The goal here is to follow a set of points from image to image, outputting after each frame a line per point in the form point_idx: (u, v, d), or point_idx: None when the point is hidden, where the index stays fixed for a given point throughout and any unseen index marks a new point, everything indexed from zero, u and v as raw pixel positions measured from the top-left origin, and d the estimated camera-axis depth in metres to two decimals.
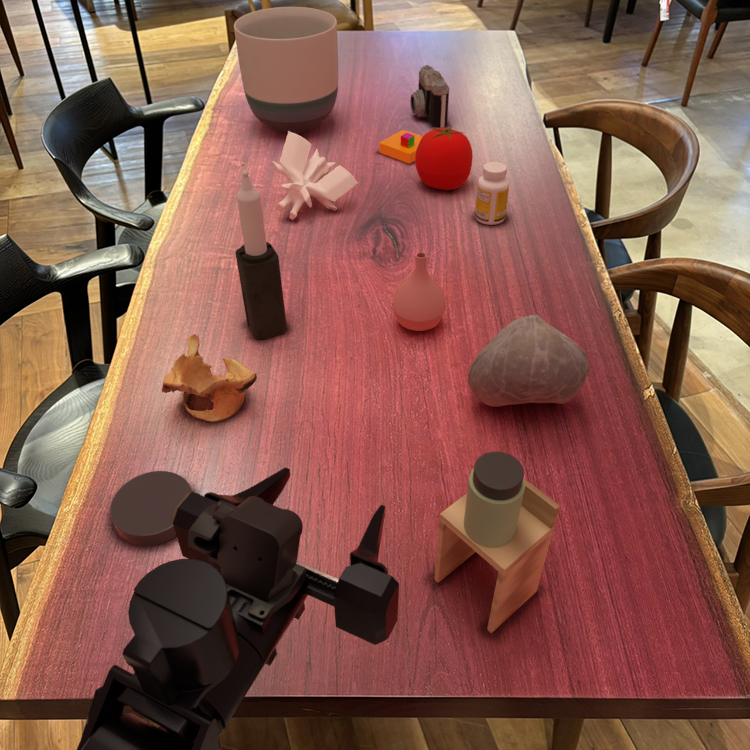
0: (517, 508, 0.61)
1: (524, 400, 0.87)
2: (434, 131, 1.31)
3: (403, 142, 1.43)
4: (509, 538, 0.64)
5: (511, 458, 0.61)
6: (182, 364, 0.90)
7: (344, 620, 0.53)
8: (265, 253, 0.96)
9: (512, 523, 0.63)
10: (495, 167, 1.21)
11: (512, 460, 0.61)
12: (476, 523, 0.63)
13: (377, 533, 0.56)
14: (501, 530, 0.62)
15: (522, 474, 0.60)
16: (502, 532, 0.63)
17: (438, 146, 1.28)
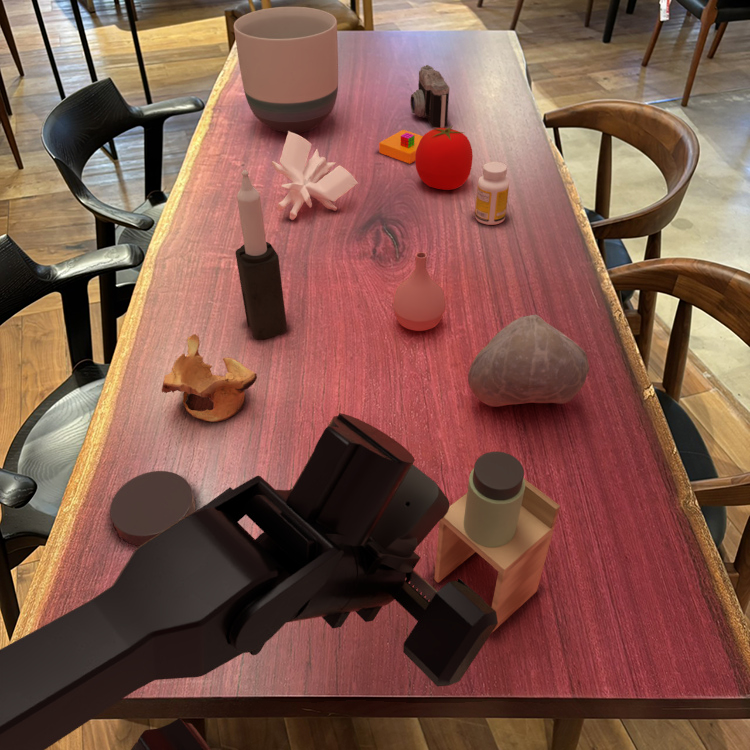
0: (517, 508, 0.61)
1: (524, 400, 0.87)
2: (434, 131, 1.31)
3: (403, 142, 1.43)
4: (509, 538, 0.64)
5: (511, 458, 0.61)
6: (182, 364, 0.90)
7: (422, 633, 0.49)
8: (265, 253, 0.96)
9: (512, 523, 0.63)
10: (495, 167, 1.21)
11: (512, 460, 0.61)
12: (476, 523, 0.63)
13: None
14: (501, 530, 0.62)
15: (522, 474, 0.60)
16: (502, 532, 0.63)
17: (438, 146, 1.28)
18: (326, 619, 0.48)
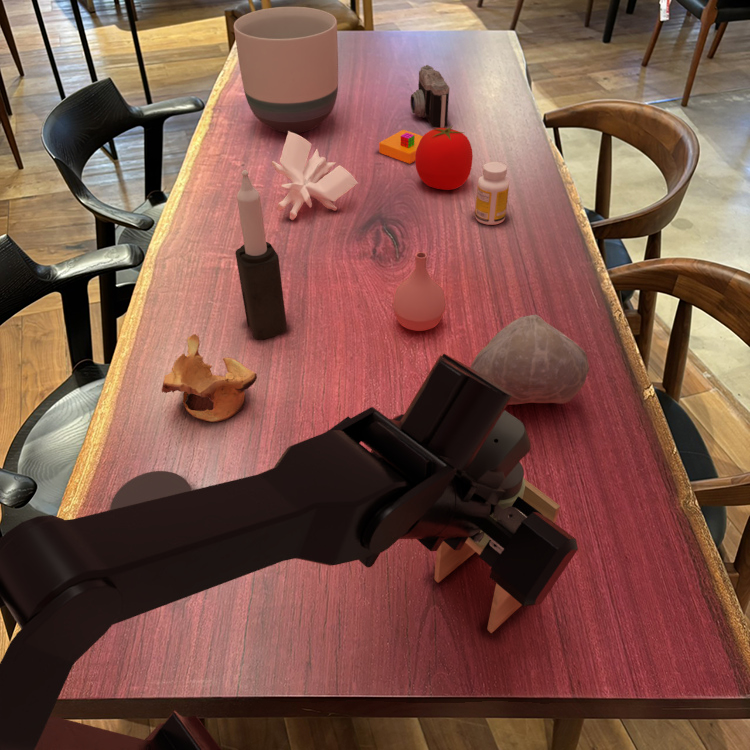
0: None
1: (524, 400, 0.87)
2: (434, 131, 1.31)
3: (403, 142, 1.43)
4: None
5: None
6: (182, 364, 0.90)
7: (509, 558, 0.54)
8: (265, 253, 0.96)
9: None
10: (495, 167, 1.21)
11: None
12: None
13: None
14: None
15: (522, 474, 0.60)
16: None
17: (438, 146, 1.28)
18: (424, 543, 0.53)
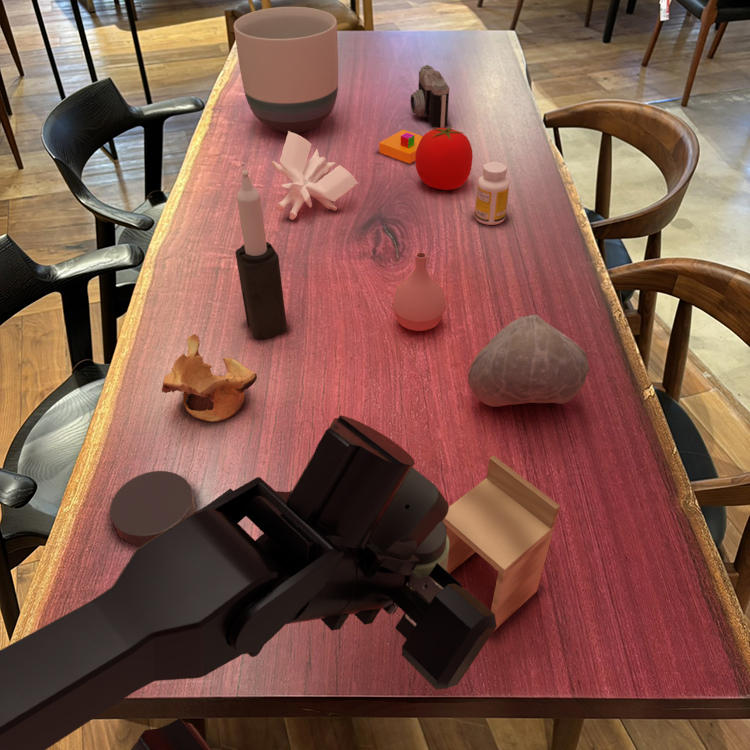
0: None
1: (524, 400, 0.87)
2: (434, 131, 1.31)
3: (403, 142, 1.43)
4: None
5: None
6: (182, 364, 0.90)
7: (421, 636, 0.49)
8: (265, 253, 0.96)
9: None
10: (495, 167, 1.21)
11: None
12: None
13: None
14: None
15: (444, 536, 0.55)
16: None
17: (438, 146, 1.28)
18: (325, 621, 0.48)
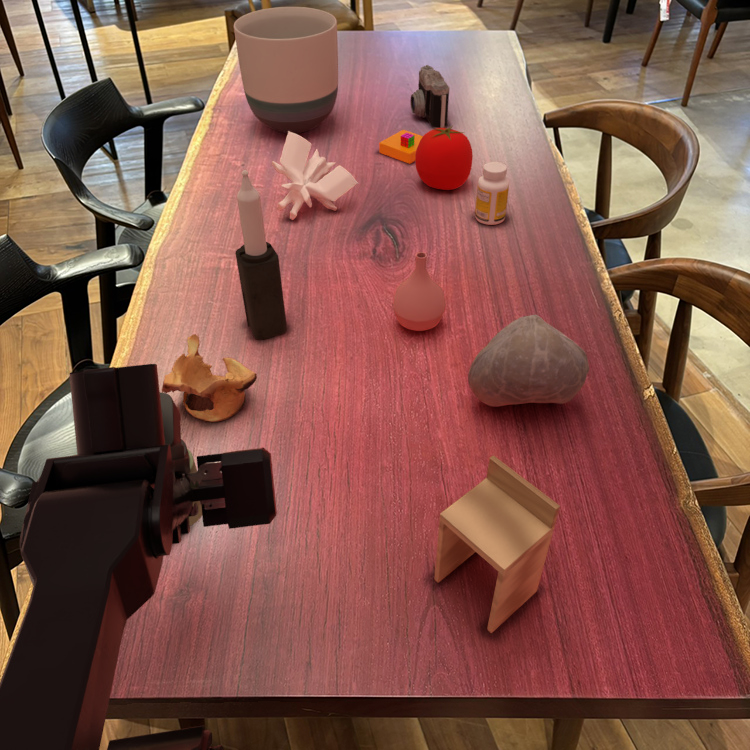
0: (196, 471, 0.64)
1: (524, 400, 0.87)
2: (434, 131, 1.31)
3: (403, 142, 1.43)
4: None
5: None
6: (182, 364, 0.90)
7: (234, 499, 0.58)
8: (265, 253, 0.96)
9: None
10: (495, 167, 1.21)
11: None
12: None
13: None
14: None
15: (182, 441, 0.63)
16: None
17: (438, 146, 1.28)
18: None
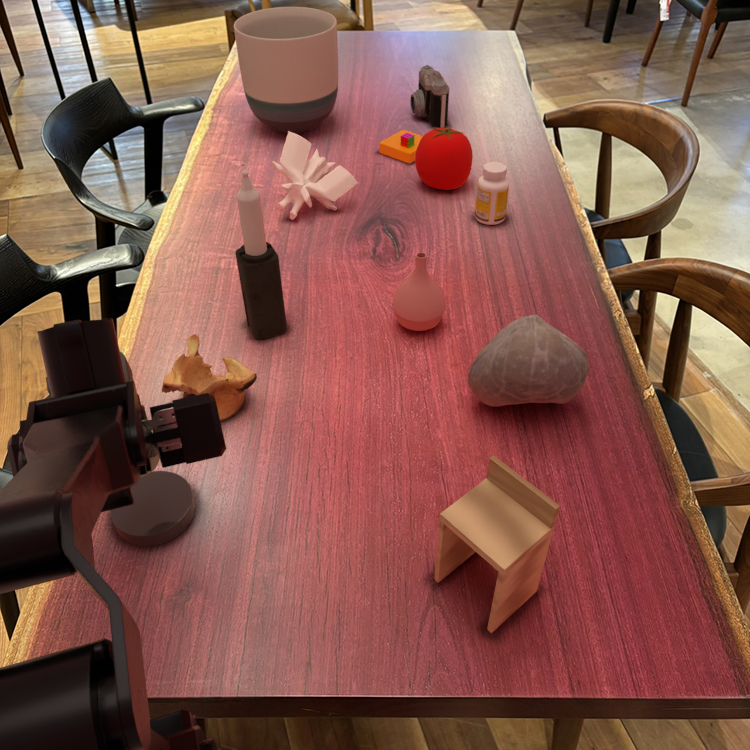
0: None
1: (524, 400, 0.87)
2: (434, 131, 1.31)
3: (403, 142, 1.43)
4: None
5: None
6: (182, 364, 0.90)
7: (188, 437, 0.67)
8: (265, 253, 0.96)
9: None
10: (495, 167, 1.21)
11: None
12: None
13: None
14: None
15: None
16: None
17: (438, 146, 1.28)
18: None
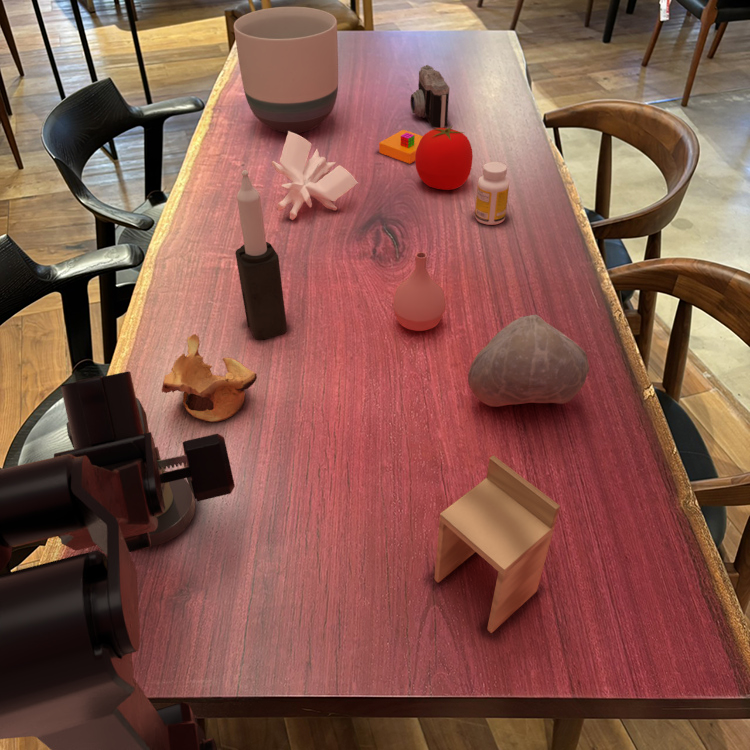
0: None
1: (524, 400, 0.87)
2: (434, 131, 1.31)
3: (403, 142, 1.43)
4: (171, 494, 0.80)
5: None
6: (182, 364, 0.90)
7: (199, 476, 0.71)
8: (265, 253, 0.96)
9: None
10: (495, 167, 1.21)
11: None
12: None
13: None
14: (165, 491, 0.78)
15: None
16: (167, 492, 0.78)
17: (438, 146, 1.28)
18: None
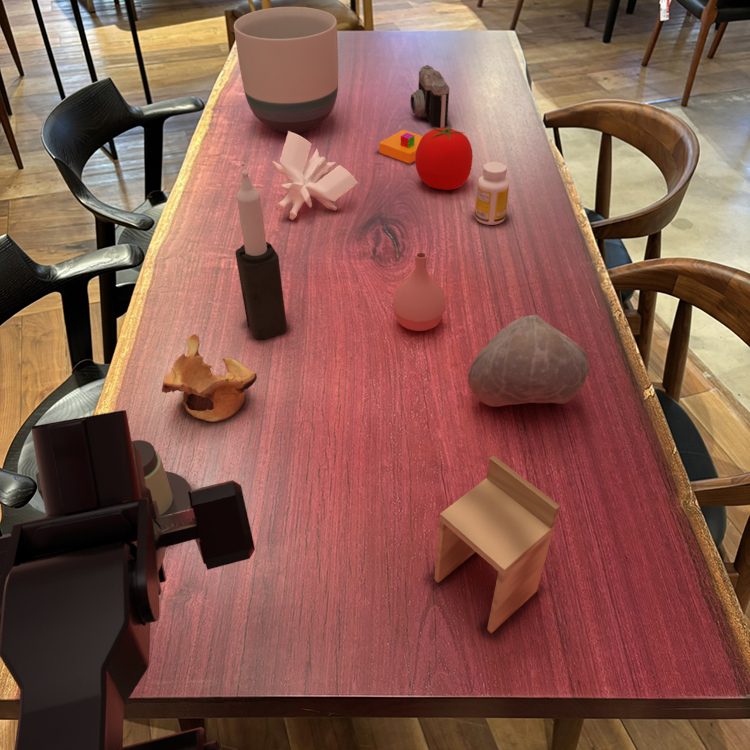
0: (163, 467, 0.77)
1: (524, 400, 0.87)
2: (434, 131, 1.31)
3: (403, 142, 1.43)
4: (171, 494, 0.80)
5: None
6: (182, 364, 0.90)
7: (210, 538, 0.55)
8: (265, 253, 0.96)
9: (167, 480, 0.78)
10: (495, 167, 1.21)
11: (134, 443, 0.76)
12: None
13: None
14: (165, 491, 0.78)
15: (149, 444, 0.76)
16: (167, 492, 0.78)
17: (438, 146, 1.28)
18: None
